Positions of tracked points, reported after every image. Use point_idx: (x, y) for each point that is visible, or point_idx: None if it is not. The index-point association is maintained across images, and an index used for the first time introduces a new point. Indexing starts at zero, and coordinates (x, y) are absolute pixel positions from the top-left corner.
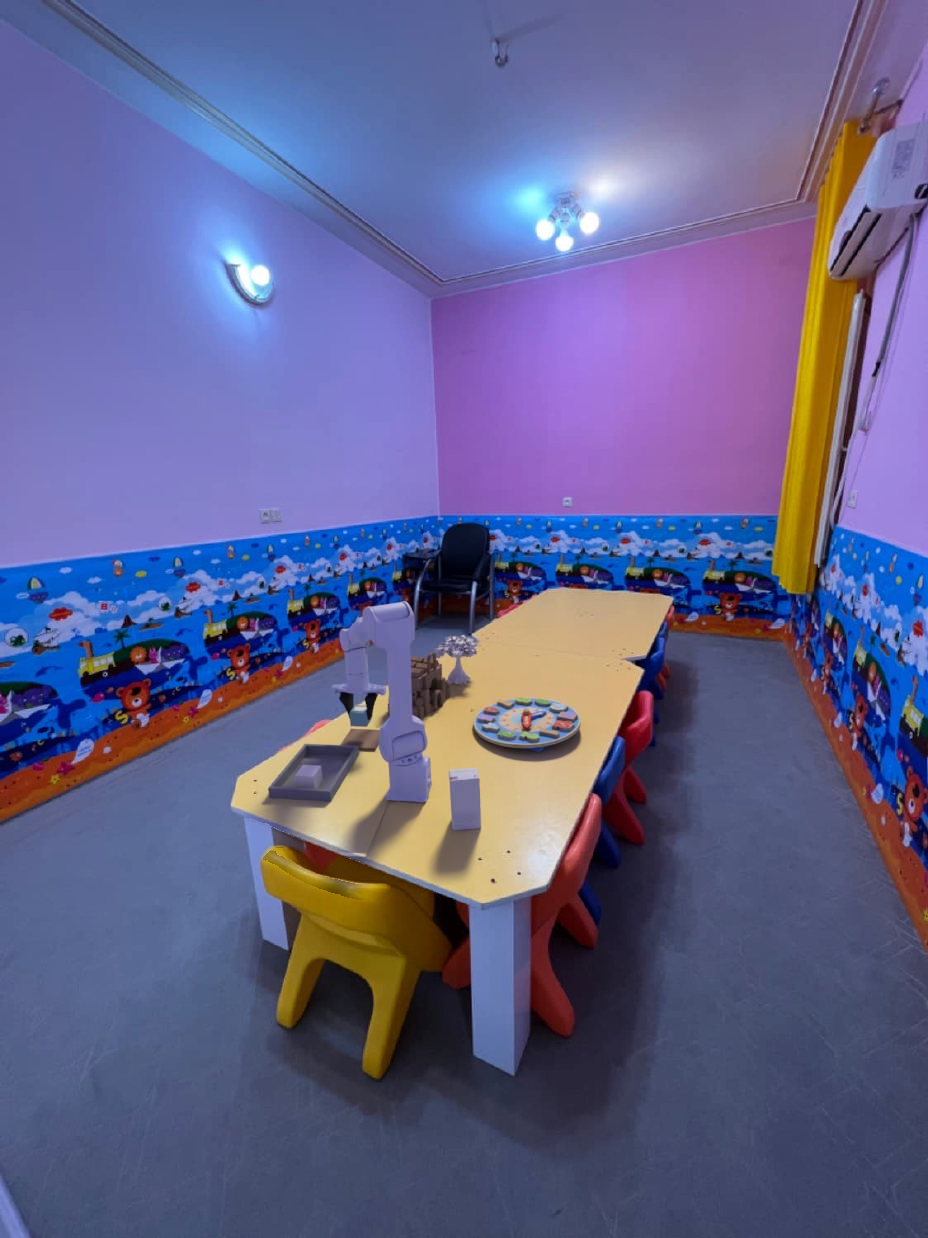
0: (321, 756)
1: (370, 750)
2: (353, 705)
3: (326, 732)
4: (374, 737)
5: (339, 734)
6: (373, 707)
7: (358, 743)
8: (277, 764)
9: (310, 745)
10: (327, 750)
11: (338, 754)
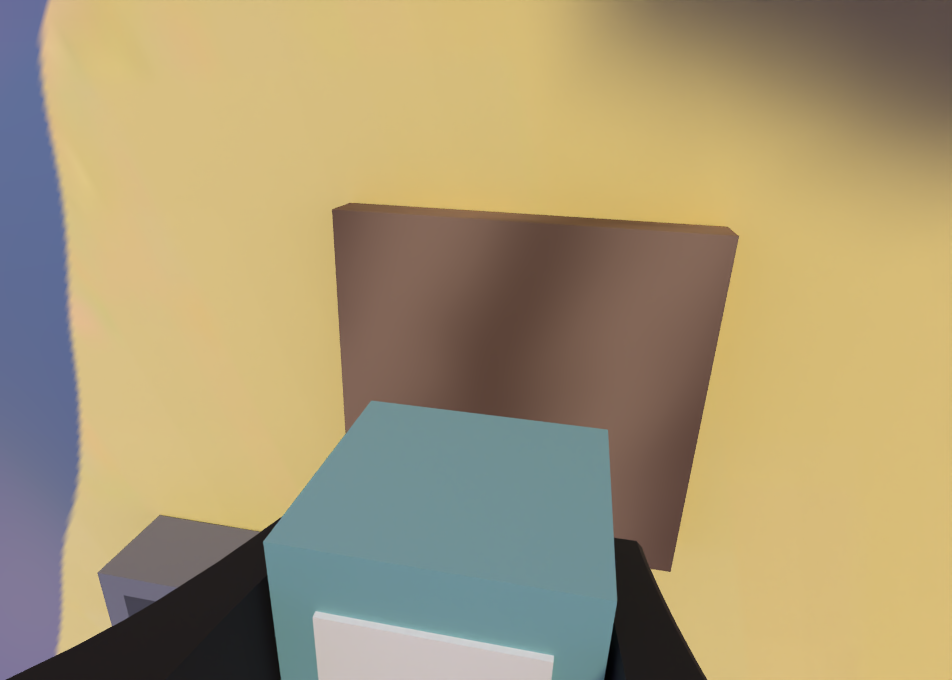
0: None
1: None
2: (247, 604)
3: (121, 203)
4: (632, 395)
5: (252, 240)
6: (697, 673)
7: None
8: (73, 599)
9: (150, 598)
10: None
11: None
